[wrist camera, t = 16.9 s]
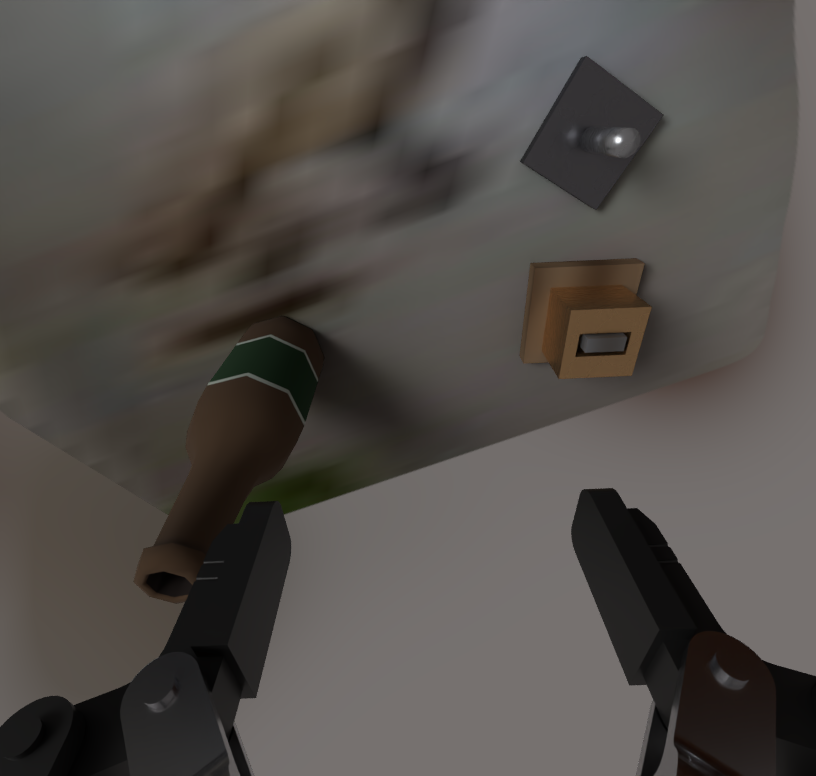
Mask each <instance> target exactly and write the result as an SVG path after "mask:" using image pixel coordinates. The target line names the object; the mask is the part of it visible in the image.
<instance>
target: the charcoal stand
mask: <svg viewBox="0 0 816 776" xmlns="http://www.w3.org/2000/svg"><path fill="white" fill-rule="evenodd" d="M662 117H663V114H662V113H660V112H659V111H658V110H657V109H655V108H654V107H653V106H651V105H650V104H649V103H647V102H646V101H645V100H644V99H642V98H641V97H640V96H638V95H637V94H636V93H634V92H633V91H632V90H630V89H629V88H628V87H627V86H625V85H624V84H623V83H621V82H620V81H619V80H617V79H616V78H615V77H614V76H612V75H611V74H610V73H608V72H607V71H606V70H604V69H603V68H602V67H600V66H599V65H598V64H597V63H595V62H594V61H593V60H591V59H590V58H589V57H587V56H585V57H582V58H581V59H580V60H579V62H578V64H577V65H576V67H575V69H574V71H573V72H572V74H571V76H570V77H569V79H568V81H567V82H566V84H565V86H564V88H563V89H562V91H561V93H560V94H559V96H558V98H557V99H556V101H555V103H554V105H553V106H552V108H551V110H550V111H549V113H548V115H547V116H546V118H545V120H544V122H543V123H542V125H541V127H540V128H539V130H538V132H537V133H536V135H535V137H534V139H533V140H532V142H531V144H530V145H529V147H528V149H527V150H526V152H525V154H524V156H523V157H522V159H521V161H520V162H521V163H523V164H525V165H526V166H528V167H529V168H531V169H532V170H534V171H535V172H537V173H539V174H540V175H542V176H543V177H545V178H546V179H548V180H549V181H551V182H552V183H554V184H556V185H557V186H559V187H560V188H562V189H563V190H565V191H566V192H568V193H570V194H571V195H573V196H574V197H576V198H577V199H579V200H580V201H582V202H583V203H585V204H587V205H588V206H590V207H591V208H593V209H597V208H598V207H599V205H600V204H601V202H602V201H603V200H604V198H605V197H606V195H607V194H608V193H609V191H610V190H611V188H612V187H613V185H614V184H615V183H616V181H617V180H618V178H619V177H620V176H621V174H622V173H623V171H624V170H625V169H626V167H627V166H628V164H629V163H630V162H631V160H632V159H633V157H634V156H635V155H636V153H637V152H638V150H639V149H640V148H641V146H642V145H643V143H644V142H645V141H646V139H647V138H648V136H649V135H650V134H651V132H652V131H653V129H654V128H655V126H656V125H657V124H658V122H659V121H660V119H661V118H662Z"/></svg>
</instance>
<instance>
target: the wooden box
mask: <svg viewBox="0 0 816 776" xmlns="http://www.w3.org/2000/svg"><path fill="white" fill-rule="evenodd" d="M644 264H645V263H643V262H641V261H640V260H638V259H636V258H632V259H610V260H588V261H566V262H544V263H531V264H530V272H529V281H528V289H527V298H526V306H525V315H524V323H523V332H522V340H521V349H520V358H521V360H522V361H523V363H545V362H548V361H547V359H546V357H545V356H544V354H543V352H542V351H541V350H542V344H543V337H544V330H545V324H546V317H547V310H548V303H549V297H550V290H551V288H557V287H579V286H602V285H623V286H624V287H626V288H627V289H628V290H630V291H631V292H632V293H634V294H635V295H636V294H637V291H638V287H639V283H640V279H641V275H642V272H643V268H644ZM626 340H627V336H626V335H625V334H623V333H622V332H619V333H596V334H580V336H579V341H578V345H579V346H580V347H581V348H582V350H583V351H584V352H585V353H591V352H614V351H624V348H625V344H626Z"/></svg>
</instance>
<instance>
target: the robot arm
mask: <svg viewBox="0 0 816 776" xmlns="http://www.w3.org/2000/svg"><path fill="white" fill-rule="evenodd" d="M571 535H572V542H573V547H574V550H575V553H576V555H577V558H578V560H579V563H580V565H581V567H582V570H583V572H584V575H585V577H586V580H587V582H588V584H589V587H590V589H591V592H592V595H593V597H594V599H595V602H596V604H597V607H598V609H599V612H600V614H601V617H602V619H603V622H604V624H605V626H606V629H607V631H608V634H609V636H610V639H611V641H612V644H613V646H614V649H615V651H616V653H617V656H618V658H619V661H620V663H621V666H622V668H623V670H624V673H625V676H626V678H627V681H628V683H629V685H647V686H648V688H649V691H650V693H651V695H652V698H653V701H652V704H651V707H650V712H649V717H648V721H647V726H646V731H645V736H644V740H643V745H642V750H641V754H640V759H639V764H638V768H637V773H636V776H816V676H813V675H809V674H806V673H802V672H798V671H795V670H792V669H788V668H784V667H781V666H777V665H774V664H771V663H768V662H766V661H763V660H761V658H760V657H759V656H758V655H757V654H756V653H755V652H754V651H752V650H751V649H750V648H749V647H748V646H746V645H745V644H743V643H742V642H741V641H739V640H737V639H735V638H734V637H732V636H729V635H727V634H726V633H725V632H724V631H723V629H722V628H721V626H720V625H719V624H718V622H717V621H716V619H715V617H714V616H713V614H712V613H711V611H710V609H709V608H708V606H707V605H706V603H705V602H704V600H703V598H702V597H701V595H700V594H699V592H698V590H697V589H696V587H695V586H694V584H693V583H692V581H691V579H690V578H689V576H688V575H687V573H686V572H685V570H684V569H683V567H682V565H681V564H680V563H678V561H677V557H676V556H675V554H674V553H673V551H672V549H671V548H670V547H668V544H667V542H666V540H665V538H664V537H663V535H662V534H661V532H660V531H659V529H658V528H657V526H656V524H655V523H654V522H652V521H651V520H650V519H649V518H648V517H647V516H645V515H644V514H643V513H642V512H641V511H640V510H639V509H637V508H631V509H627V508H626V506H625V504H624V503H623V501H622V499H621V497H620V496H619V494H618V493H617V492H616V490H614V489H613V488H606V489H584V490H582V491H581V493H580V497H579V501H578V504H577V508H576V512H575V516H574V520H573V524H572V529H571ZM290 556H291V539H290V535H289V531H288V528H287V525H286V521H285V518H284V515H283V511H282V508H281V505H280V503H279V502H278V501H270V502H250V503H248V504H247V506H246V507H245V510H244V512H243V515H242V517H241V520H240V522H239V524H227V525H226V526H225V527H224V529H223V530H222V531H221V532H220V533H219V534H218V535H217V536H216V538H215V539H214V540H213V541H212V543H211V545H210V547H209V549H208V552H207V554H206V556H205V558H204V563H203V565H201V568H200V570H199V572H198V574H197V577H196V581H195V582H194V583H193V586H192V588H191V590H190V592H189V595H188V597H187V599H186V601H185V604H184V606H183V608H182V610H181V613H180V615H179V617H178V620H177V622H176V624H175V626H174V629H173V631H172V633H171V635H170V638H169V640H168V642H167V644H166V646H165V648H164V650H163V651H162V653H161V654H160V656H159V657H158V658H157V659H155V660H153V661H152V662H150V663H149V664H148V665H146V666H145V667H144V668H143V669H142V670H141V671H140V672H139V673H138V674H137V675H136V676H135V677H134V679H133V680H132V682H130V683H128V684H127V685H125V686H122V687H120V688H118V689H115V690H113V691H110V692H107V693H105V694H102V695H99V696H97V697H95V698H91V699H89V700H86V701H84V702H81V703H78V704H76V705H72V704H71V703H70V702H69V701H68V700H67V699H65V698H63V697H60V696H49V697H44V698H42V699H38V700H36V701H34V702H32V703H30V704H29V705H27V706H25V707H24V708H22V709H20V710H19V711H18V712H16V713H15V714H14V715H12V716H11V717H10V718H9V719H8V720H7V721H6V722H5V723H4V724H3V725H2V726H1V727H0V776H254V774H253V771H252V768H251V765H250V763H249V760H248V757H247V754H246V752H245V749H244V746H243V743H242V740H241V738H240V735H239V732H238V729H237V727H236V724H235V721H234V719H235V716H236V712H237V708H238V705H239V701H240V699H241V698H256V696H257V692H258V687H259V683H260V679H261V675H262V671H263V667H264V663H265V659H266V655H267V651H268V647H269V643H270V639H271V635H272V631H273V626H274V623H275V619H276V615H277V611H278V607H279V602H280V598H281V594H282V590H283V586H284V582H285V578H286V574H287V570H288V566H289V562H290Z"/></svg>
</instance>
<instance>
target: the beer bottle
mask: <svg viewBox="0 0 816 776" xmlns="http://www.w3.org/2000/svg"><path fill="white" fill-rule="evenodd" d="M323 361H324V355H323V353H322V351H321V348H320V346H319V344H318V341H317V339H316V337H315V334H314V332H313V330H312V329H310V328H307V327H305V326H303V325H301V324H299V323H297V322H295V321H293V320H291V319H289V318H287V317H285V316H280V317H276V318H273V319H269V320H265V321H262V322H258V323H254V324H252V326H251V327H250V328H249V329H248V330H247V331H246V332H245V334H244V335H243V336H242V338H241V339H240V341H239V342H238V343H237V345H236V346H235V348H234V349H233V350H232V352H231V353H230V354H229V356H228V357H227V359H226V360H225V361H224V363H223V364H222V366H221V367H220V368H219V370H218V371H217V372H216V374H215V375H214V377H213V378H212V379H211V381H210V382H209V384H208V385H207V387H206V388H205V390H204V392H203V394H202V396H201V397H200V399H199V401H198V403H197V406H196V409H195V412H194V414H193V417H192V420H191V422H190V425H189V428H188V431H187V438H186V450H187V452H188V455H189V458H190V461H191V464H192V466H191V469H190V472H189V475H188V477H187V479H186V481H185V483H184V485H183V487H182V489H181V491H180V493H179V495H178V497H177V499H176V501H175V503H174V505H173V507H172V509H171V511H170V513H169V516H168V518H167V520H166V522H165V524H164V526H163V528H162V530H161V532H160V534H159V536H158V538H157V540H156V542H155V544H154V546H152V547H148V548H144V549H143V552H142V555H141V557H140V560H139V563H138V566H137V570H136V574H135V578H134V583H135V584H136V585H137V586H139V587H140V588H141V589H142V590H143V591H144V592H145V593H146V594H147V595H148V596H149V597H153V598H157V599H161V600H164V601H168V602H172V603H182V602H185V601H186V599H187V597H188V595H189V592H190V590H191V588H192V586H193V583H194V582H195V581H196V577H197V574H198V572H199V570H200V568H201V565H203V563H204V558H205V556H206V554H207V552H208V549H209V547H210V545H211V543H212V541H213V540H214V539H215V538H216V536H217V535H218V534H219V533H220V532H221V531H222V530H223V529H224V527H225V526H226V525H227V524H233V523H234V521H235V519H236V517H237V515H238V513H239V511H240V509H241V507H242V505H243V503H244V501H245V499H246V498H247V496H248V495H249V493H250V492H251V490H252V489H253V487H255V486H257V485H259V484H261V483H263V482H265V481H268V480H270V479H272V478H273V477H274V476H275V475H276V474H277V473H278V472H279V471H280V470H281V469H282V468H283V466H284V464H285V462H286V461H287V459H288V457H289V455H290V453H291V452H292V450H293V448H294V446H295V444H296V443H297V441H298V438H299V436H300V434H301V432H302V429H303V427H304V425H305V421H306V418H307V415H308V412H309V408H310V405H311V402H312V399H313V396H314V392H315V389H316V386H317V383H318V379H319V376H320V373H321V370H322V367H323Z"/></svg>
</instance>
